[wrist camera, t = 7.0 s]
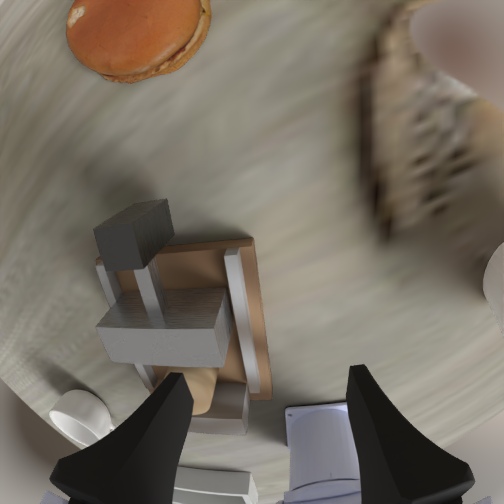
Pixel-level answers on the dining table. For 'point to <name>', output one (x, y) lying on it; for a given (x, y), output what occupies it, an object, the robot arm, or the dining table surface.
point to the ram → (158, 298)
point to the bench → (243, 331)
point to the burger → (136, 35)
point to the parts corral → (213, 487)
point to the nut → (199, 385)
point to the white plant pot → (495, 285)
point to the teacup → (82, 417)
